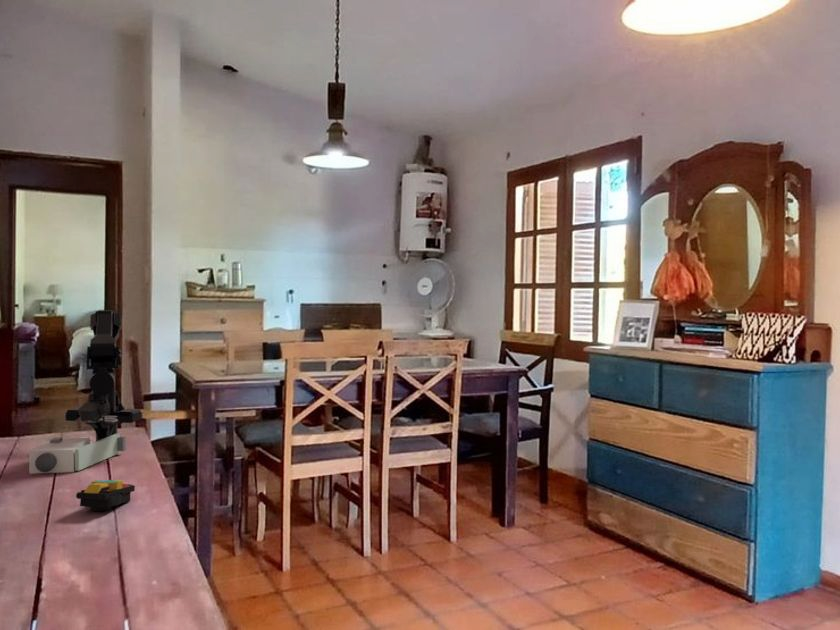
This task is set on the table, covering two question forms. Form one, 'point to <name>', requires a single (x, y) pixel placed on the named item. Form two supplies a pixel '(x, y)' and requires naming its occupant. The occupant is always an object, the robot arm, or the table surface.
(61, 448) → the camera case
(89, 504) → the gadget
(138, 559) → the table surface
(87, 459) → the side door
